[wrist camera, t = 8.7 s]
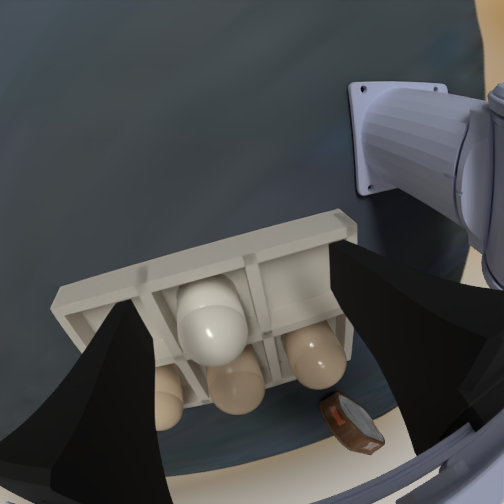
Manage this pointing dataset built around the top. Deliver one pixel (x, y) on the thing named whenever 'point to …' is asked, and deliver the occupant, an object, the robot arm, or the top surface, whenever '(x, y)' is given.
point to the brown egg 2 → (315, 355)
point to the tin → (351, 424)
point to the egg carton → (248, 287)
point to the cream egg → (211, 321)
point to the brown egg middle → (237, 384)
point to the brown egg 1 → (168, 396)
